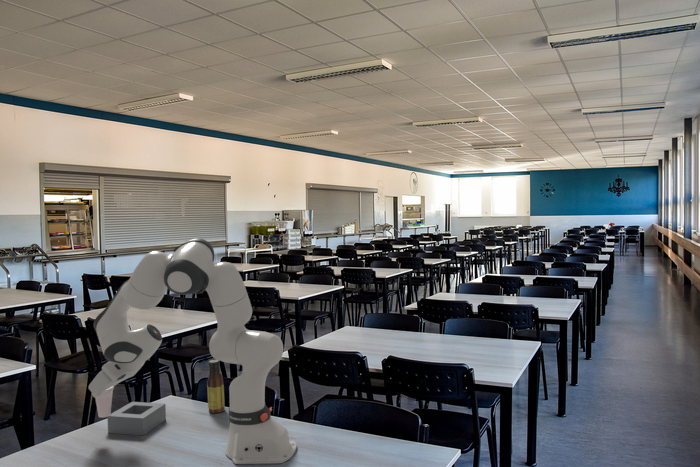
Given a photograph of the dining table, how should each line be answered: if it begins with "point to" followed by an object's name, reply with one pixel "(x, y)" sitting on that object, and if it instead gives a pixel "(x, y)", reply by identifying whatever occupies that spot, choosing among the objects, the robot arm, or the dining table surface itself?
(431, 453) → the dining table surface
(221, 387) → the sauce bottle
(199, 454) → the dining table surface
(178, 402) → the dining table surface
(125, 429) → the box
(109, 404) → the smoothie
